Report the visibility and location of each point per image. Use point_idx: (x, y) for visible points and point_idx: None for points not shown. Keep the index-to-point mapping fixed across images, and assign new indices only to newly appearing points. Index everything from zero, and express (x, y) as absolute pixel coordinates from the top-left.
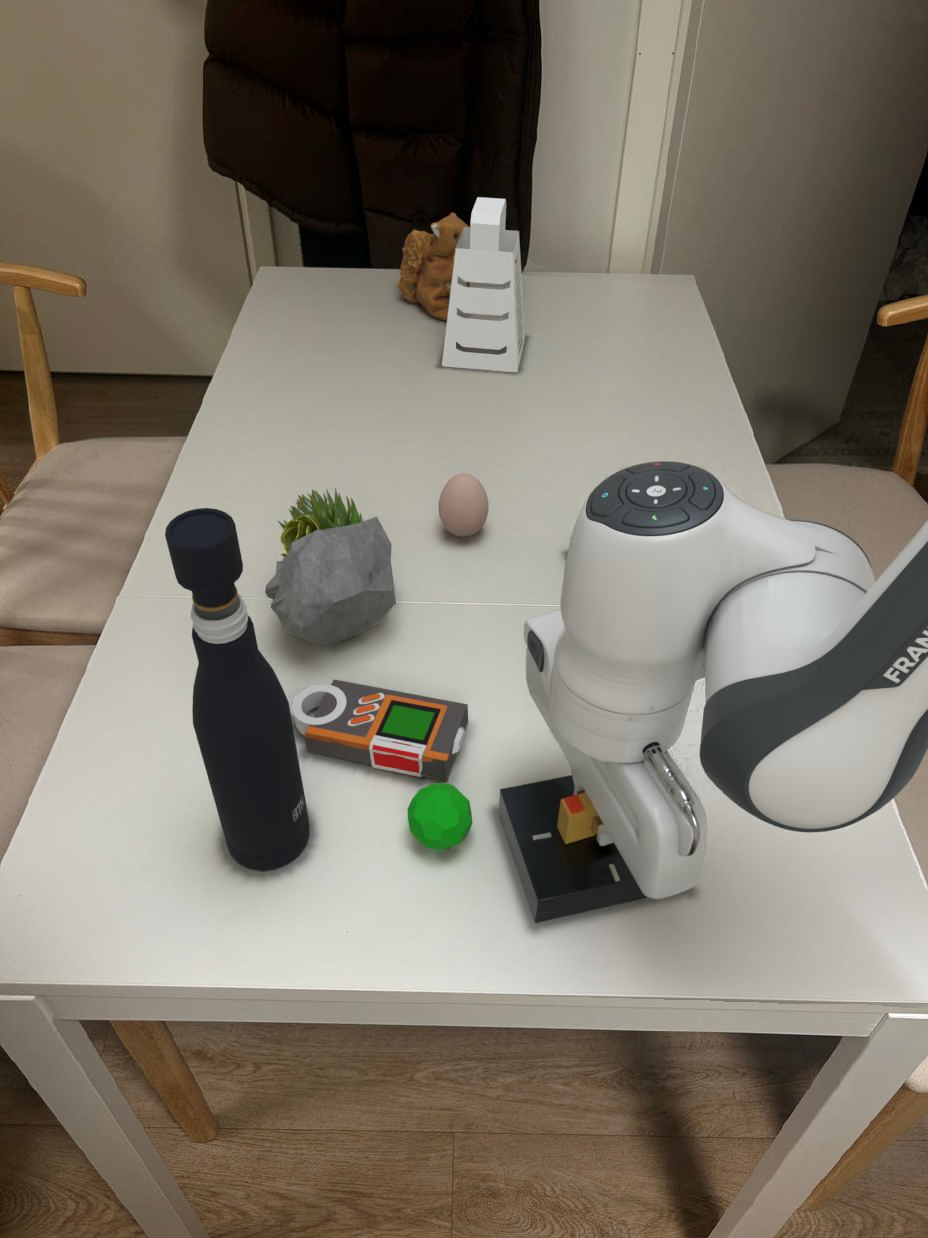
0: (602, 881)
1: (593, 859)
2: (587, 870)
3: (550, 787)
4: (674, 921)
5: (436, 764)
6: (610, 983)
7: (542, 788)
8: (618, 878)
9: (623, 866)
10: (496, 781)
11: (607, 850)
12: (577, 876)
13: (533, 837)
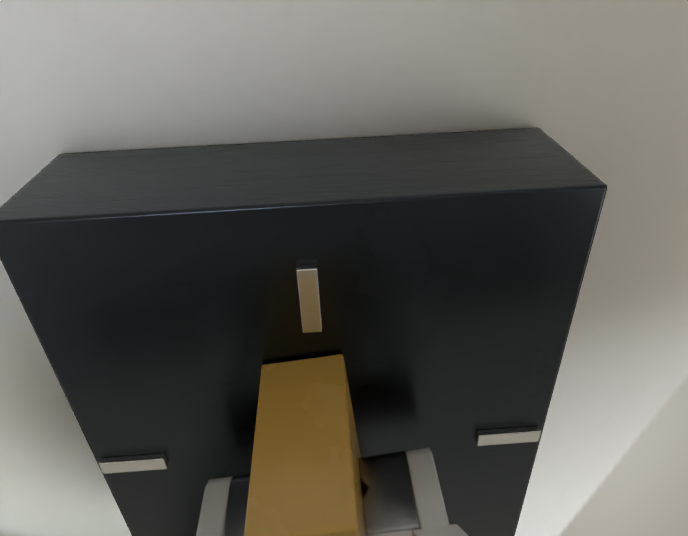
0: (517, 461)
1: (440, 468)
2: (467, 481)
3: (155, 516)
4: (615, 208)
5: None
6: (670, 385)
7: (158, 528)
8: (534, 435)
9: (495, 409)
10: (85, 491)
11: (422, 433)
12: (476, 502)
13: None
